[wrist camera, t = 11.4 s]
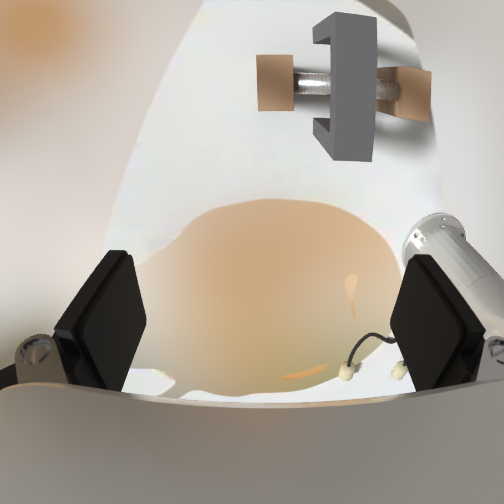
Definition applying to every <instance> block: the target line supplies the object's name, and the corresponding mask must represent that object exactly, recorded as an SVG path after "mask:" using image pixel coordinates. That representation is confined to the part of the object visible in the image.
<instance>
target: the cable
mask: <svg viewBox="0 0 504 504" xmlns="http://www.w3.org/2000/svg"><path fill="white" fill-rule="evenodd" d="M370 336H375V337H377V338H380V339H381V340H383V341H385V342H387V343H390V344H393V343H395V342H397V341H396V339H394V340H389V339H387V338H385V337H383V336H382V335H380V334H377V333H373V332H371V333H368V334H366V335H365V336H363V337H362V338H361V339H360V340H359V341H358V343H357V344H356V345H355V347H354V348H353V350H352V352H351V354H350V356H349V359H348V361H346V362H344V363H343V364H342V365H341V368H340V371H339V378H340V379H341V380H343V381H349V380H351V378H352V377H353V374H354V372H355V369H356V366H355V364H354V363H352V362H351V361H352V358H353V355H354V353H355V351H356V350H357V348H358V347H359V346H360V344H361V343H362V342H363V341H364V340H365V339H366V338H368V337H370ZM407 371H408V368H407V366H406V363H405V361H400V362H398V363H397V364H396V366H395V367H394V369H393V370H392V372H391V375H392V377H393V378H394V379H396V380H400V379H402V378H403V376H404V375H405V374H406V373H407Z"/></svg>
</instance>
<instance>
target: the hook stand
mask: <svg viewBox="0 0 504 504" xmlns="http://www.w3.org/2000/svg"><path fill="white" fill-rule="evenodd" d="M256 62H257V92H258V111H294V94H320V95H331V74H322V73H299V72H293V55H256ZM430 101H431V72H429V71H425V70H420V69H415V68H410V67H405V66H398V67H383V68H377V88H376V111H379V112H382V113H386V114H389V115H393V116H396V117H399V118H403V119H410V120H418V121H424V122H429V118H430Z"/></svg>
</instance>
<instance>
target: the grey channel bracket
mask: <svg viewBox="0 0 504 504" xmlns="http://www.w3.org/2000/svg"><path fill="white" fill-rule="evenodd" d="M313 44H327V45H331V99H330V118H313V135H314V136H315V137H316V139H317V140H318V141H319V142H320V144H321V145H322V146H323V147H324V149H325V150H326V151H327V153H328V154H329V155H330V157H331V158H332V159H333V160H335V161H362V162H372V152H373V141H374V127H375V111H376V88H377V18H376V17H370V16H364V15H357V14H349V13H341V12H334V13H333V14H331V15H330V16H328V17H327V18H325V19H324V20H323V21H321V22H320V23H318V24H317V25H315V26H314V27H313Z"/></svg>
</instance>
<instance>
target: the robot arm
mask: <svg viewBox="0 0 504 504" xmlns="http://www.w3.org/2000/svg"><path fill="white" fill-rule="evenodd" d="M402 261H403V265H404V267H405V269H406V270H405V274H404V277H403V281H402V284H401V288H400V291H399V294H398V297H397V301H396V304H395V307H394V310H393V313H392V316H391V319H390V326H391V329H392V332H393V334H394V336H395V339H396V341H397V344H398V346H399V348H400V351H401V353H402V356H403V358H404V361H405V363H406V366H407V368H408V371H409V374H410V376H411V379H412V381H413V384H414V387H415V389H416V392H412V393H405V394H398V395H390V396H382V397H373V398H363V399H352V400H339V401H324V402H302V403H238V402H215V401H199V400H186V399H175V398H165V397H156V396H148V395H140V394H132V393H125V392H121V390H122V388H123V385H124V382H125V379H126V377H127V374H128V371H129V368H130V366H131V363H132V360H133V358H134V354H135V352H136V350H137V347H138V345H139V342H140V339H141V337H142V334H143V331H144V329H145V326H146V314H145V310H144V306H143V302H142V298H141V293H140V289H139V285H138V280H137V276H136V272H135V267H134V262H133V258H132V256H131V255H128V253H127V252H126V251H125V250H109V251H108V252H107V254H106V255H105V256H104V258H103V259H102V260H101V262H100V263H99V264H98V266H97V267H96V268H95V270H94V271H93V272H92V274H91V275H90V277H89V278H88V279H87V281H86V282H85V283H84V285H83V286H82V288H81V289H80V290H79V292H78V293H77V295H76V296H75V298H74V299H73V301H72V302H71V303H70V305H69V307H68V308H67V309H66V311H65V312H64V314H63V315H62V317H61V318H60V320H59V321H58V323H57V324H56V326H55V328H54V330H55V333H54V334H53V336H52V337H51V336H49V335H46V334H36V335H33V336H30V337H29V338H27V339H26V340H24V341H23V342H22V343H21V344H20V345H19V347H18V348H17V350H16V352H15V364H12V365H10V366H8V367H6V368H4V369H2V370H0V504H504V280H503V279H502V278H501V277H500V275H498V273H497V272H496V271H495V270H494V269H493V268H492V267H491V266H490V265H489V264H488V263H487V261H486V260H484V258H483V257H482V256H481V255H480V254H479V253H478V252H477V251H476V250H475V249H474V248H473V247H472V246H471V245H470V244H469V243H468V242H467V241H466V236H465V231H464V228H463V226H462V225H461V223H460V222H459V221H458V220H457V219H456V218H454V217H453V216H451V215H449V214H444V213H438V214H433V215H430V216H428V217H426V218H424V219H422V220H421V221H420V222H419V223H417V224H416V225H415V226H414V228H413V229H412V230H411V231H410V233H409V234H408V236H407V238H406V240H405V242H404V246H403V250H402Z"/></svg>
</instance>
